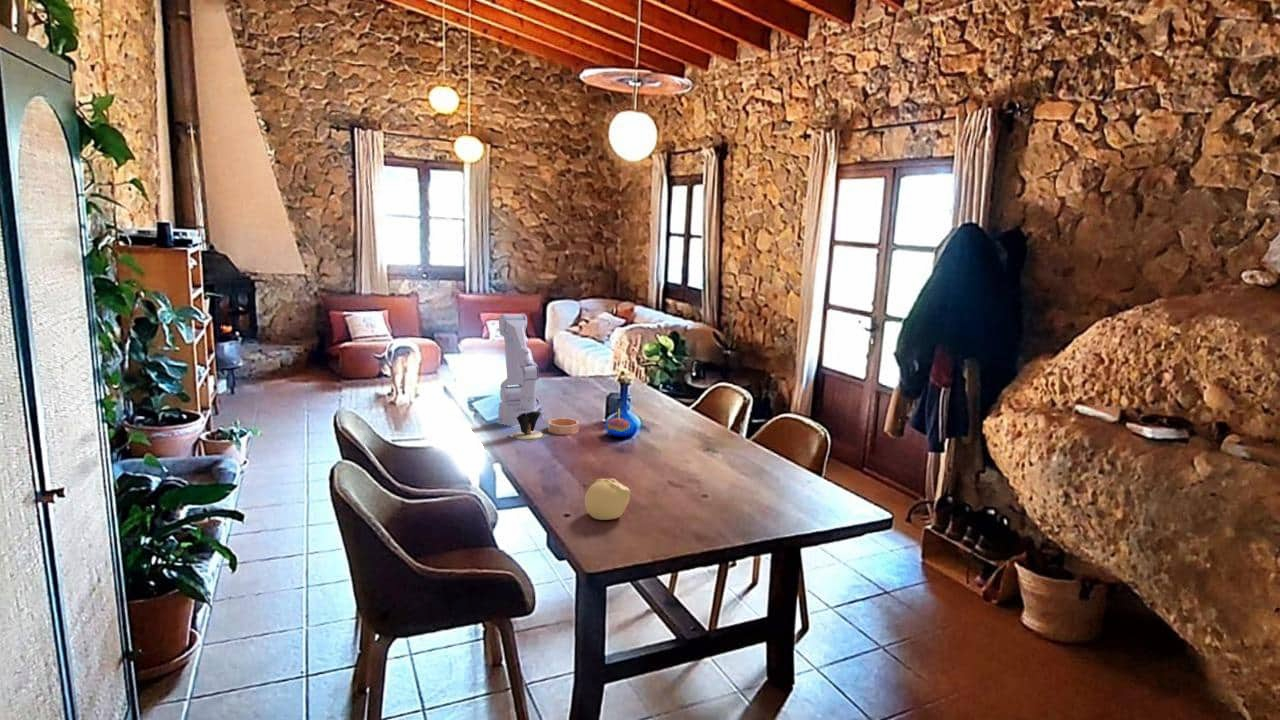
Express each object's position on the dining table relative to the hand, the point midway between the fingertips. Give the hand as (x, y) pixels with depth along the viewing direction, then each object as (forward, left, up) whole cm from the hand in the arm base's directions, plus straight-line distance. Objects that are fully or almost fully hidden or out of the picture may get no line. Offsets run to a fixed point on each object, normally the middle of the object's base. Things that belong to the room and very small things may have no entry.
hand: (527, 431), depth 274 cm
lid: (0, 0, -2) cm, 2 cm away
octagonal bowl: (+5, +15, -2) cm, 16 cm away
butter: (+67, -40, -2) cm, 78 cm away
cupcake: (+25, +24, -2) cm, 35 cm away
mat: (0, 0, -2) cm, 2 cm away
